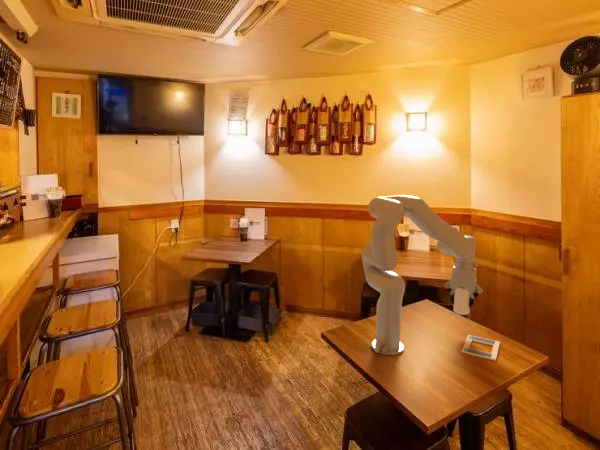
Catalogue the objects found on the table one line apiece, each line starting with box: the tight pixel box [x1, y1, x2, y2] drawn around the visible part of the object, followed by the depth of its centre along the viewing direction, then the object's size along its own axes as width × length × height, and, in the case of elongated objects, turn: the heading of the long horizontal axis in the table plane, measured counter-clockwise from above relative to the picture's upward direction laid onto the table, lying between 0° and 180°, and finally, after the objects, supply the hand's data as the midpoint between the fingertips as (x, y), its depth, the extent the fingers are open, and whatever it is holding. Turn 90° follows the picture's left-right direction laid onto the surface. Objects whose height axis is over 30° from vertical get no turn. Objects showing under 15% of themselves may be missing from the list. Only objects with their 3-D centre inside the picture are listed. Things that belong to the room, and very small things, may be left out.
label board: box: [461, 334, 501, 362], centre depth 152 cm, size 16×12×1 cm
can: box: [452, 287, 471, 316], centre depth 163 cm, size 6×6×12 cm
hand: (461, 304), depth 164 cm, fingers closed on can, 6 cm apart
